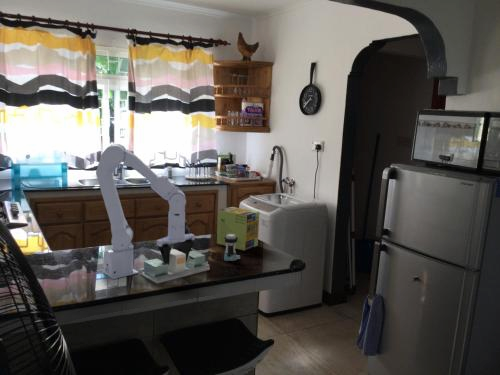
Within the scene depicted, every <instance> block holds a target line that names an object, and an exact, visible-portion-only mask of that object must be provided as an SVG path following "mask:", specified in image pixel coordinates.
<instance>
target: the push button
mask: <svg viewBox="0 0 500 375" xmlns="http://www.w3.org/2000/svg"><path fill="white" fill-rule="evenodd" d="M224 239H225V242H226V246H225V251H224V253H223V260H224V262H229V261H234V262H235V261H237V260H238V259H239V260H240V259H241V257H239V255H237V252H236V248H235V243H236V242H237V239H238V237H236V235H234V234H227V236H225V237H224ZM228 244H229V245H228Z"/></svg>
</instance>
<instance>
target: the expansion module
mask: <svg viewBox="0 0 500 375" xmlns="http://www.w3.org/2000/svg"><path fill="white" fill-rule="evenodd" d="M185 265H186V254H185V253H182V251H178V250H175V249H173V248H172V249H171V252H170V259H169V265H168V269H169V270H171V271H173V272H175V273H176V272H180V271H184V270H185Z"/></svg>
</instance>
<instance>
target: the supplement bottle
mask: <svg viewBox="0 0 500 375" xmlns="http://www.w3.org/2000/svg"><path fill="white" fill-rule="evenodd" d="M185 234H190V228H189V227H188V220H186V219H185ZM171 248H172V249H175V250H178V251H180V252H182V247H181V242H178V243H173V244H172V247H171Z"/></svg>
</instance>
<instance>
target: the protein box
mask: <svg viewBox="0 0 500 375" xmlns="http://www.w3.org/2000/svg"><path fill="white" fill-rule="evenodd" d="M217 214H218V215H217V235H216V244H217V245H220V246H225V247H226V242H225V239H224V237H225V236H227V234H234V235H236V237H238V239H237V242H236V243H235V250H236V249H237V250H240V251H247V250H250V249H252V247H253V248H255V247H258V246H259V230H260V228H259V227H260V211H258V210H251V209H247V208H241V207H234V206H231V207H230V206H229V207H225V208H221V209H218V212H217ZM228 245H229V244H228Z"/></svg>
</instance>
